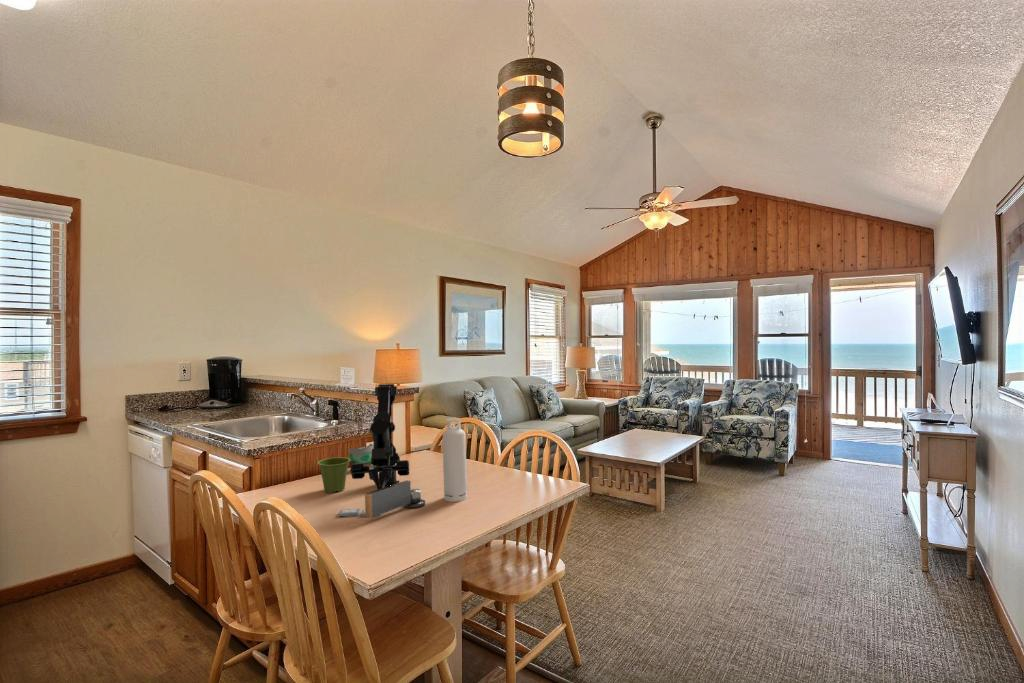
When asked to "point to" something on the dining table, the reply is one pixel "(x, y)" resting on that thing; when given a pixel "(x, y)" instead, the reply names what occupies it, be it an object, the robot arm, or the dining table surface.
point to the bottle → (454, 462)
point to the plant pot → (334, 473)
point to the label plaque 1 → (349, 512)
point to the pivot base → (416, 504)
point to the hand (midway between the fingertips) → (379, 492)
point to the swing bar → (390, 498)
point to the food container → (361, 455)
